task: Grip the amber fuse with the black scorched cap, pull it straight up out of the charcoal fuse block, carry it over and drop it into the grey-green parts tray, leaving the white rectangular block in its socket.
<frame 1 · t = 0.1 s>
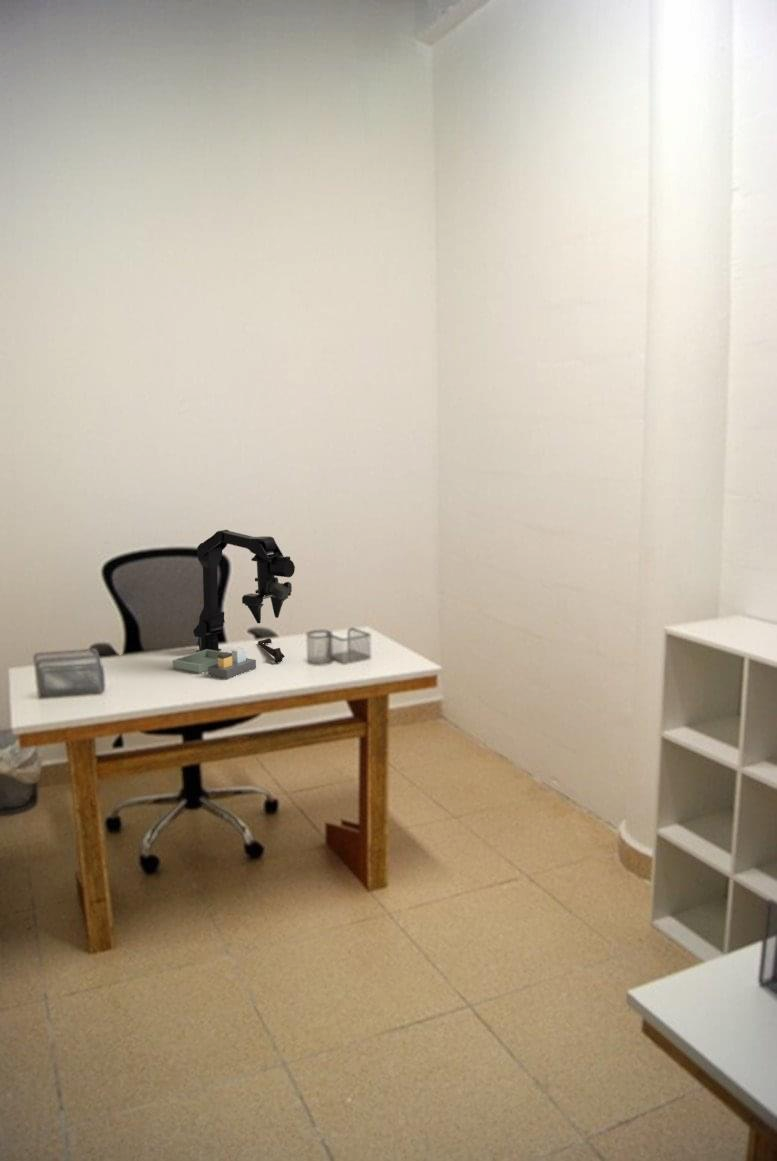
hand: (267, 620, 299), 15 cm above the table, tool pointing down, fingers open, 9 cm apart
fuse block: (232, 672, 291), on the table
parts tray: (203, 665, 299), on the table
white rectangular block: (239, 669, 293), resting in fuse block
wrench: (274, 654, 313), on the table
blown fuse: (225, 674, 288), resting in fuse block
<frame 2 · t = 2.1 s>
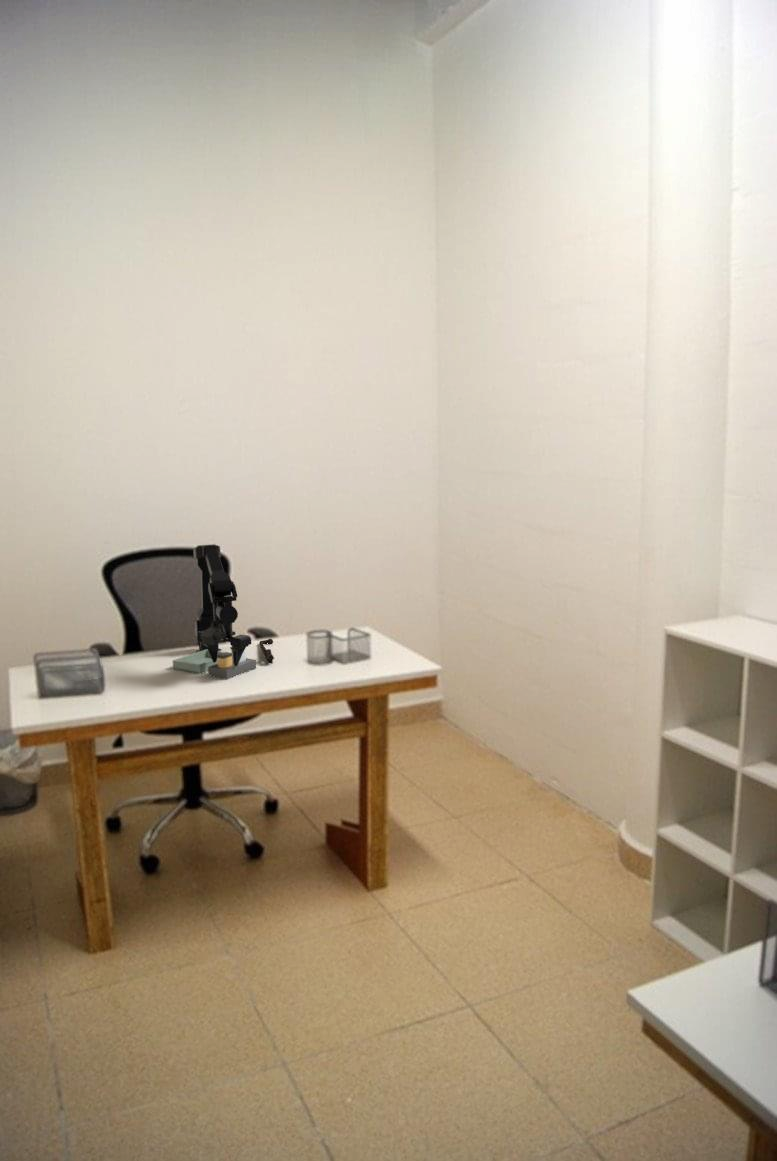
hand: (225, 664, 287), 4 cm above the table, tool pointing down, fingers open, 9 cm apart
wrench: (270, 655, 312), on the table
everything else where it was.
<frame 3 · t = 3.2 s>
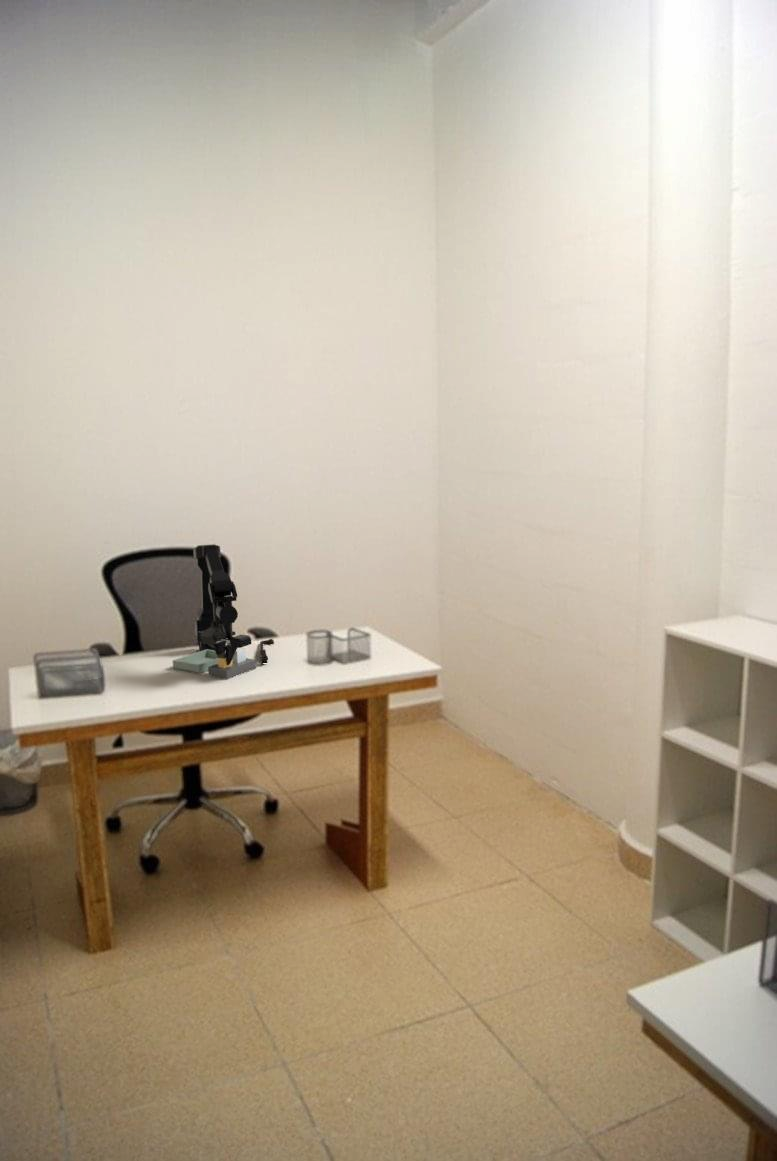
hand: (225, 664, 287), 4 cm above the table, tool pointing down, fingers closed on blown fuse, 2 cm apart
blown fuse: (225, 674, 288), resting in fuse block, touching gripper
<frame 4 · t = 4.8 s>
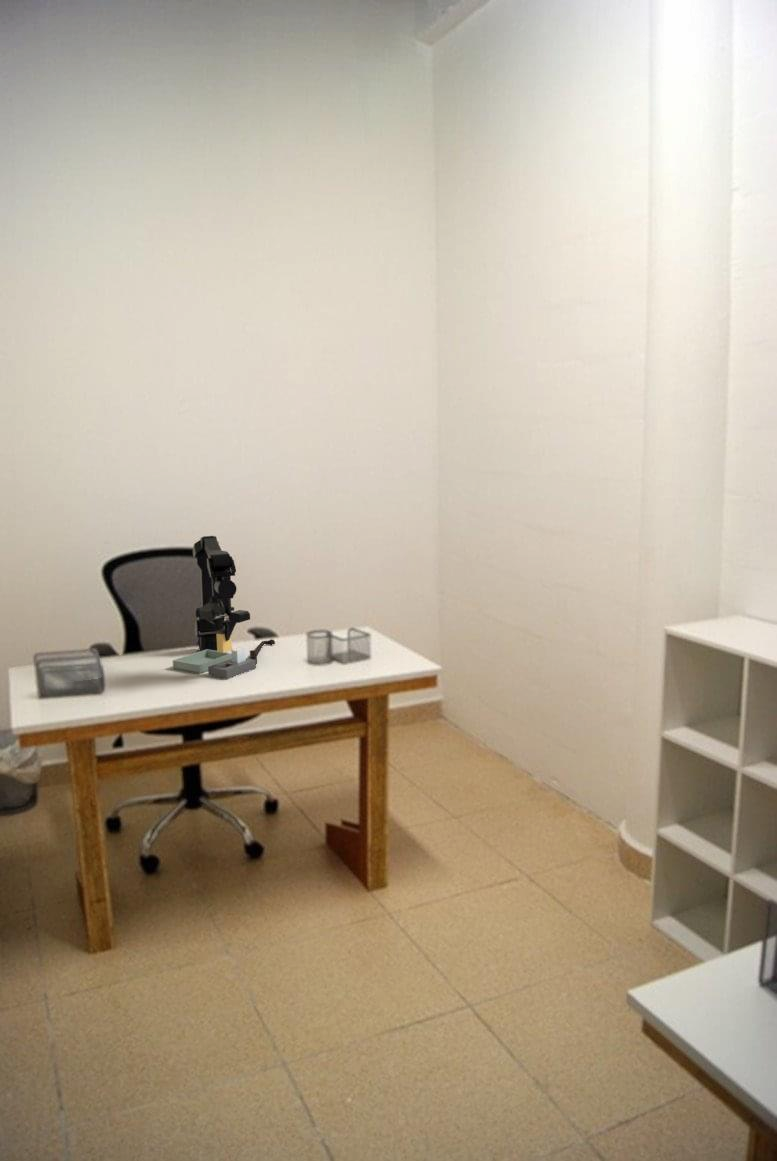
hand: (224, 640, 286), 12 cm above the table, tool pointing down, fingers closed on blown fuse, 2 cm apart
wrench: (262, 656, 311), on the table
blown fuse: (224, 650, 286), point 8 cm above the table, touching gripper
everything else where it was.
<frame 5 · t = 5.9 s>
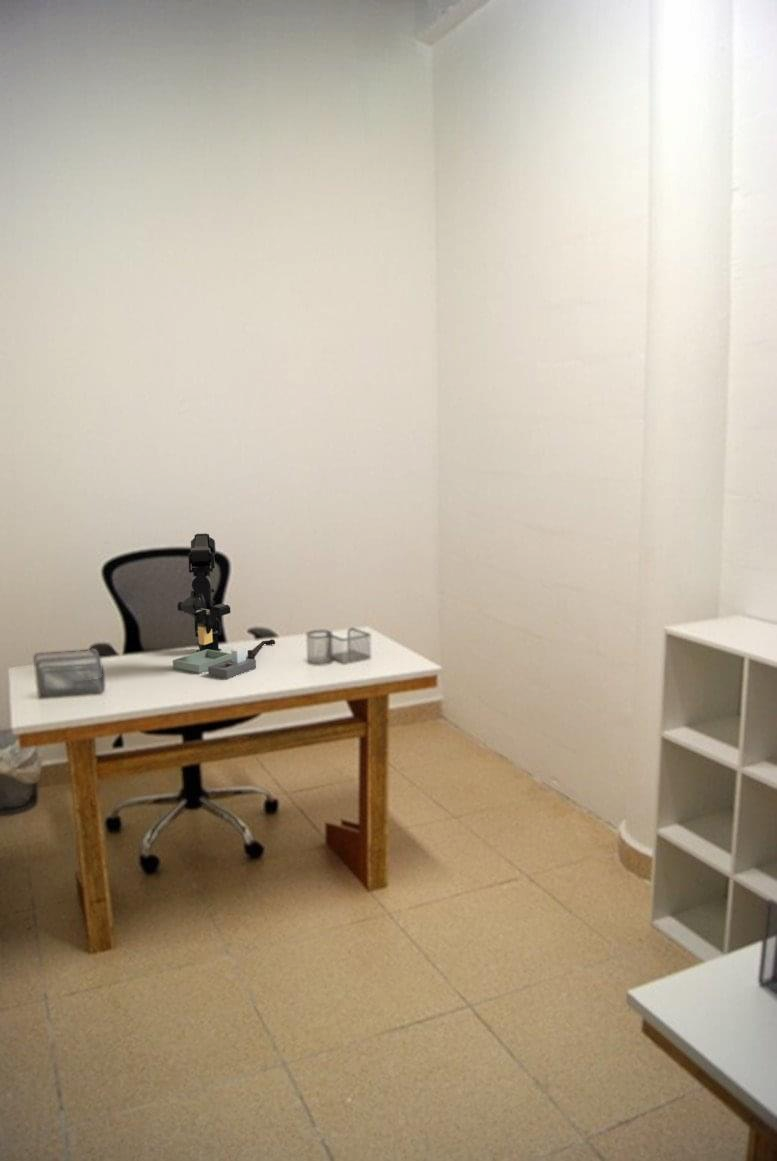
hand: (205, 632, 295), 12 cm above the table, tool pointing down, fingers closed on blown fuse, 2 cm apart
blown fuse: (205, 642, 296), point 8 cm above the table, touching gripper
when the fingers open (6 cm above the table, at t = 7.8 s): blown fuse drops 2 cm, resting on parts tray.
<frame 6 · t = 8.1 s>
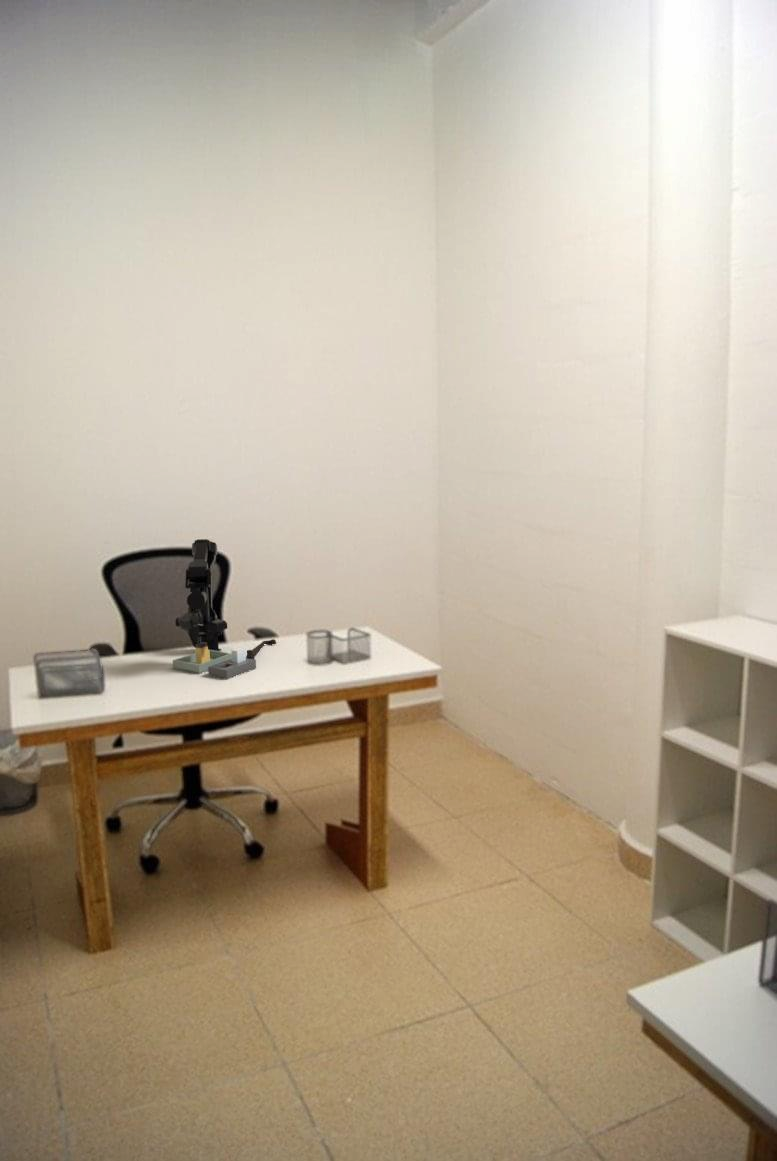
hand: (202, 648, 298), 6 cm above the table, tool pointing down, fingers open, 6 cm apart
blown fuse: (203, 663, 299), point 1 cm above the table, touching parts tray
everything else where it was.
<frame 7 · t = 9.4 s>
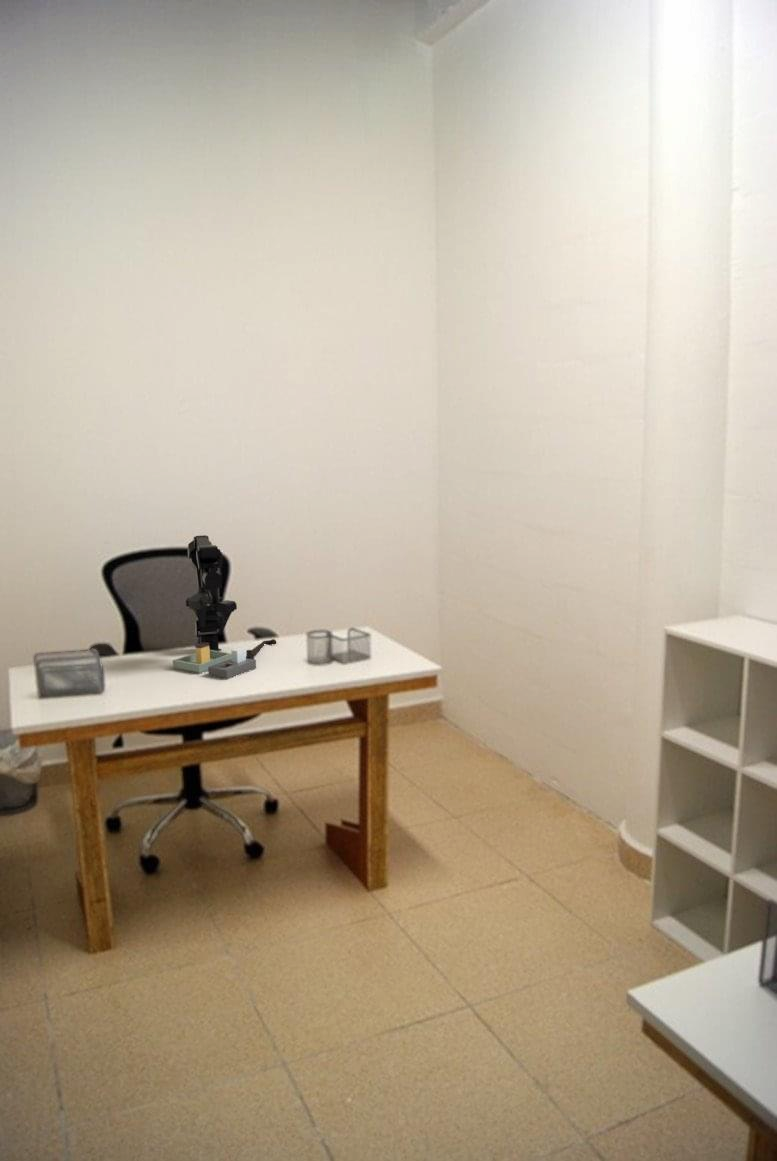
hand: (212, 628, 300), 12 cm above the table, tool pointing down, fingers open, 9 cm apart
nothing on the table moved.
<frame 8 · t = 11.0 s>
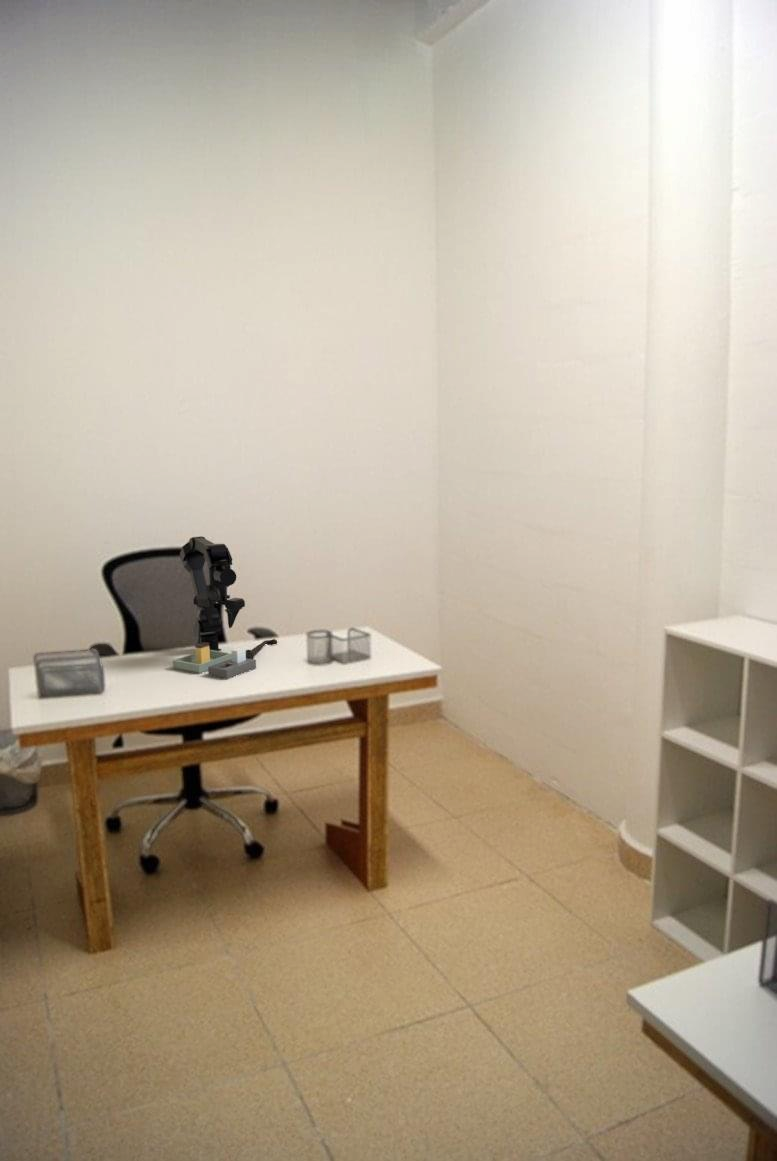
hand: (220, 626, 303), 12 cm above the table, tool pointing down, fingers open, 9 cm apart
nothing on the table moved.
at the end: blown fuse inside the target area on the parts tray (0.0 cm from its centre), point 0.6 cm above the parts tray's base; the gripper is holding nothing; white rectangular block moved 0.0 cm from its start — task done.
